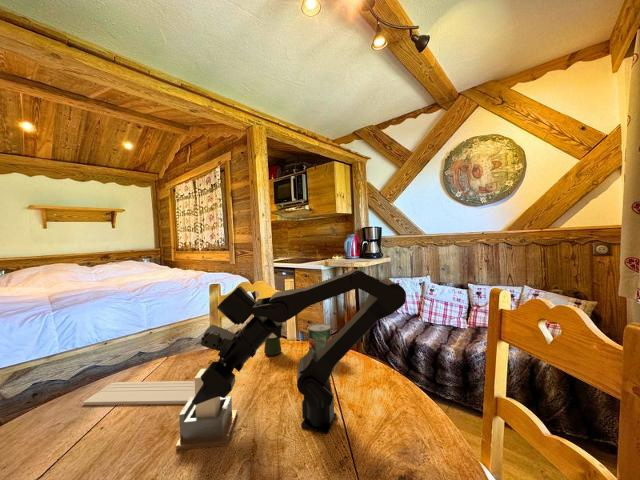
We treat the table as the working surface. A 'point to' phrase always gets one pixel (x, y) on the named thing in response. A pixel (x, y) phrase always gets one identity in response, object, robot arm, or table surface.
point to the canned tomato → (319, 336)
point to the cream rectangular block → (209, 406)
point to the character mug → (274, 343)
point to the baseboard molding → (144, 393)
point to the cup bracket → (206, 426)
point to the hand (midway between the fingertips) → (201, 390)
